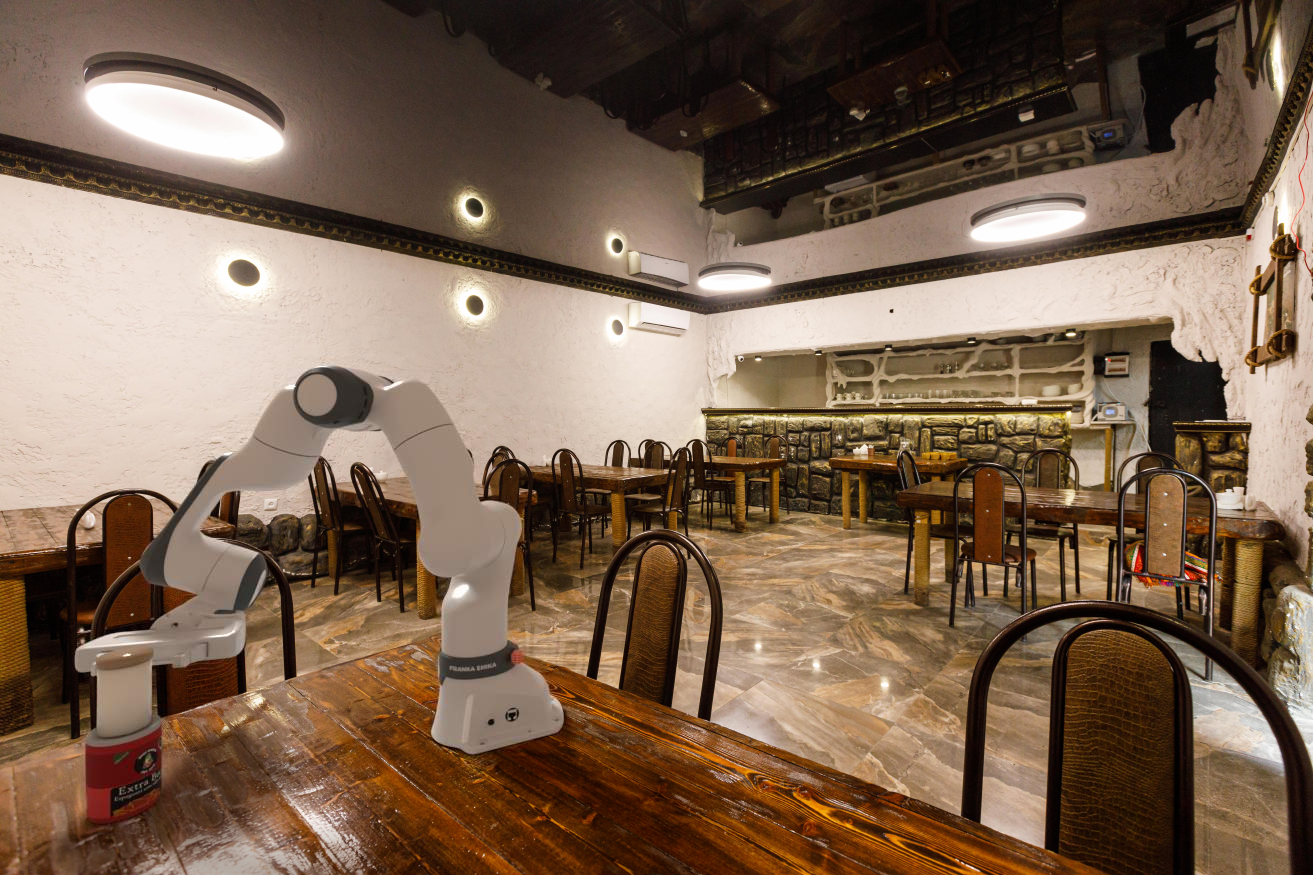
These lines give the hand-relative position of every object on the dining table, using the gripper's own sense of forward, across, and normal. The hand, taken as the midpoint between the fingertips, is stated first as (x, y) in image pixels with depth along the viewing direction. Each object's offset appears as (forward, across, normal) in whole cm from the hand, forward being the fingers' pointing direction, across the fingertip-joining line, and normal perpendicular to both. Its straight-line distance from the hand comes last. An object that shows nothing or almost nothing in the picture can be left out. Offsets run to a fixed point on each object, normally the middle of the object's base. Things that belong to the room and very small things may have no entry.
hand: (138, 666), depth 82 cm
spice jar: (+4, 0, +7) cm, 8 cm away
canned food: (+4, 0, +18) cm, 19 cm away
